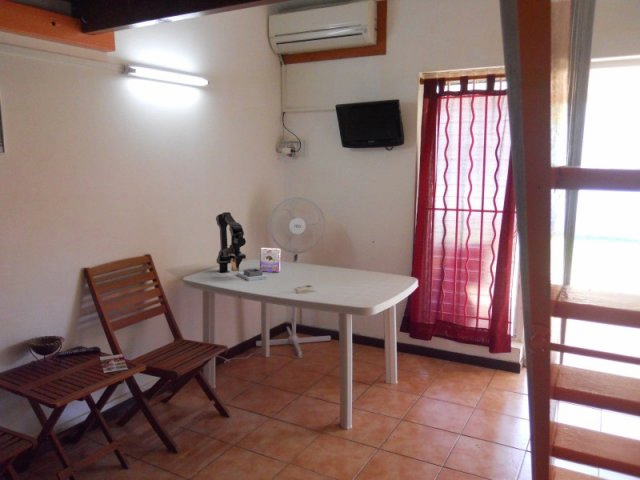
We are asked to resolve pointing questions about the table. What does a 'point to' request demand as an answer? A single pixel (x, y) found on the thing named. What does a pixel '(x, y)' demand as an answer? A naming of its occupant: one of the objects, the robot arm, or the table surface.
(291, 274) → the table surface
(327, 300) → the table surface
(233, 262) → the copper canister
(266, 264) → the candy box
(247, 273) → the grey square socket base
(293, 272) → the table surface
